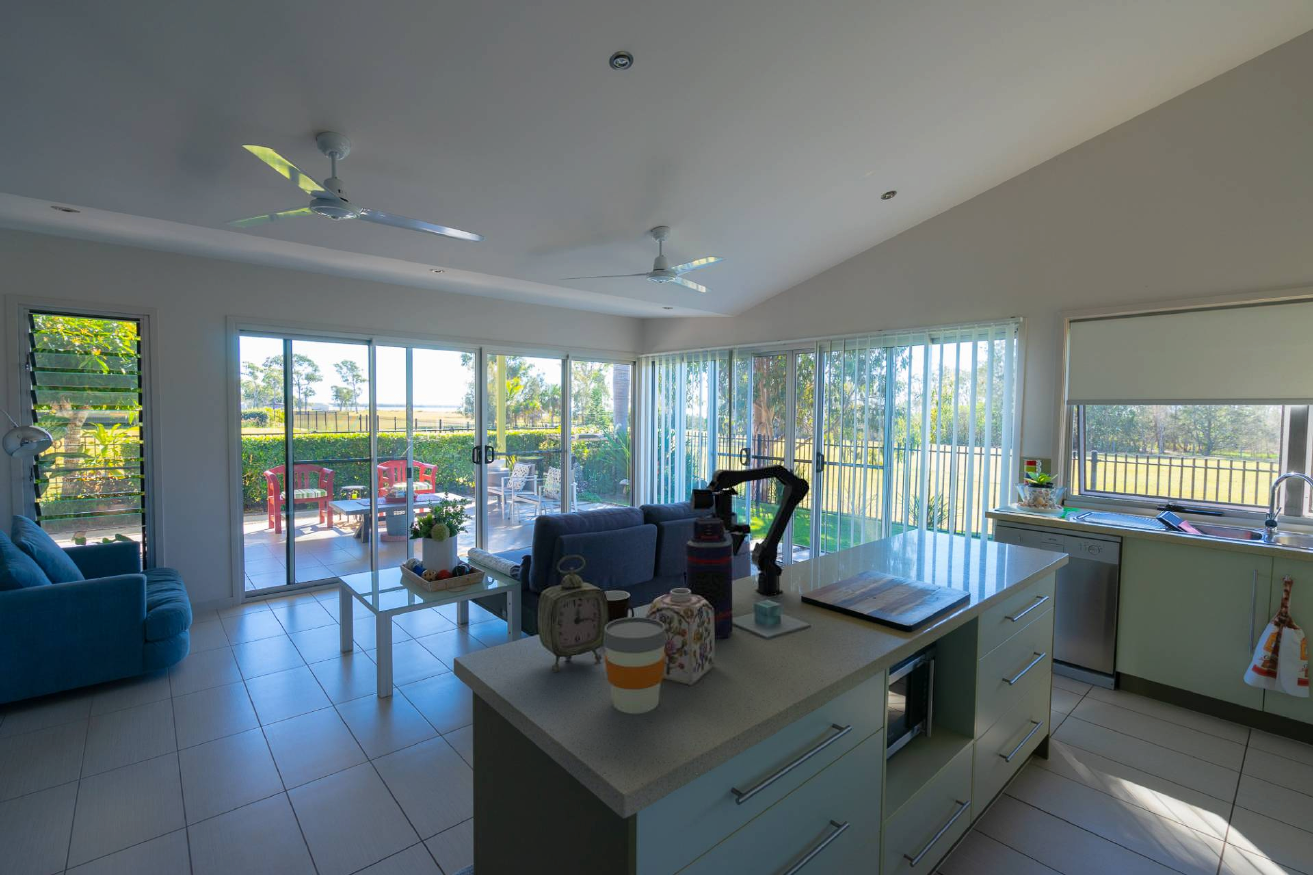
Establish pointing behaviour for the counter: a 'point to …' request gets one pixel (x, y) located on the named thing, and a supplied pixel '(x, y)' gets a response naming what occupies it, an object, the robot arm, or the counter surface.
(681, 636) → the decorative jar
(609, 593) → the coffee mug
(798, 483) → the robot arm
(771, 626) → the slate pad
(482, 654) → the counter surface
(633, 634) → the reusable coffee cup
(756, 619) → the teal block
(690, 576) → the thermos flask
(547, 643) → the tabletop clock
